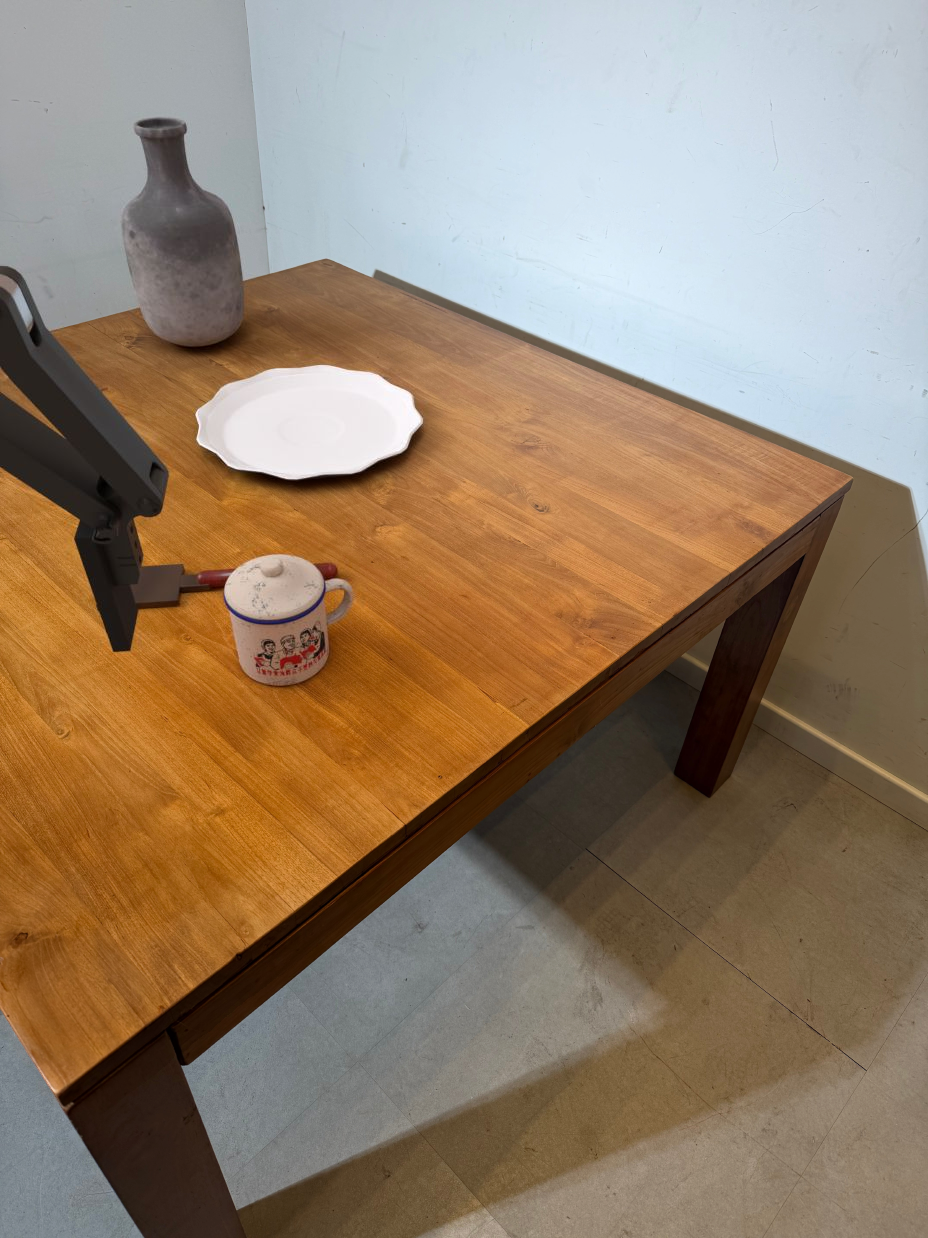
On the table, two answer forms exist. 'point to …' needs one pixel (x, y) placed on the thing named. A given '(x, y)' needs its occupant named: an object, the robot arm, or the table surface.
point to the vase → (181, 246)
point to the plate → (308, 422)
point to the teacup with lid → (282, 617)
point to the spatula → (187, 583)
